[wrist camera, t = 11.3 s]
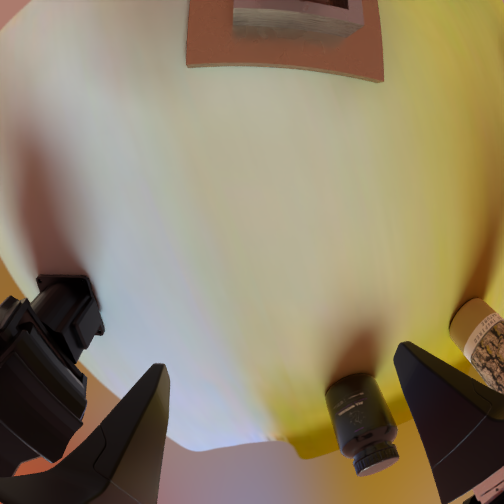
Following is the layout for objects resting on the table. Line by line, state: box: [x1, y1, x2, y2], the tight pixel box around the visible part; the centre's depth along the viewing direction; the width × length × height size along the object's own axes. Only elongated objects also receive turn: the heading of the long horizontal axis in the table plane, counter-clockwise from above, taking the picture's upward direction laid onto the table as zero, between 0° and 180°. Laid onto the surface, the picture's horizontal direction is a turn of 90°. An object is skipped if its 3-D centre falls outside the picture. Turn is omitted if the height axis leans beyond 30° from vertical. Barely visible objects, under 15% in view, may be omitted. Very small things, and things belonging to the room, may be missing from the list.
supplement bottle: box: [325, 374, 399, 476], centre depth 25 cm, size 7×7×12 cm
